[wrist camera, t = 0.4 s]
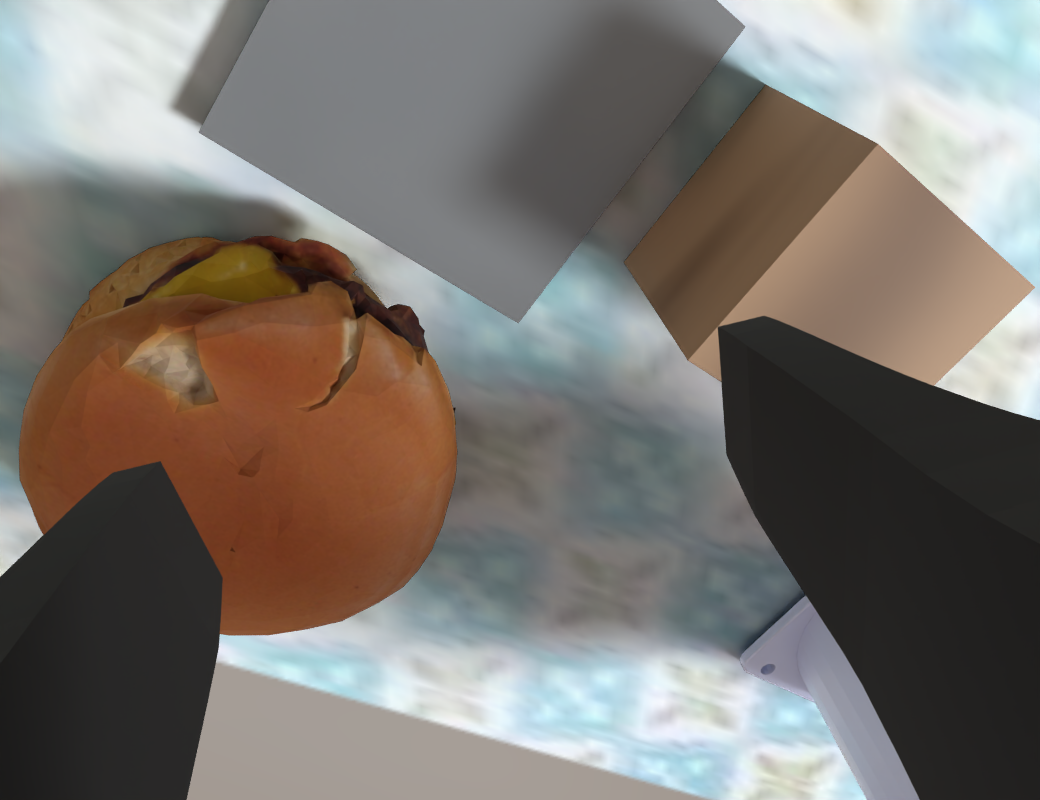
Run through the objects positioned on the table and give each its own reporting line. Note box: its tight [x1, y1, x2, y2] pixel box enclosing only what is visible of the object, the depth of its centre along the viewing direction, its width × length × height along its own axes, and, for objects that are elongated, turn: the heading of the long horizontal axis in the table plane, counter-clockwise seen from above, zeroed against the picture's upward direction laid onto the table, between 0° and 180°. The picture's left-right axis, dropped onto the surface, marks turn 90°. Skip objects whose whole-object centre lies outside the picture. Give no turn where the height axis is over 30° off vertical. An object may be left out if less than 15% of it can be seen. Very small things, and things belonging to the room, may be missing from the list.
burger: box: [19, 236, 457, 635], centre depth 19 cm, size 10×9×5 cm
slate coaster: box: [199, 0, 745, 323], centre depth 17 cm, size 8×8×1 cm
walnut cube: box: [624, 85, 1035, 386], centre depth 18 cm, size 5×5×5 cm
